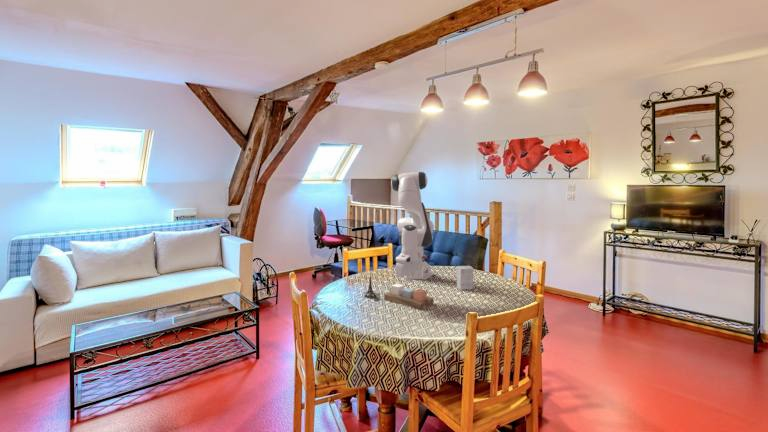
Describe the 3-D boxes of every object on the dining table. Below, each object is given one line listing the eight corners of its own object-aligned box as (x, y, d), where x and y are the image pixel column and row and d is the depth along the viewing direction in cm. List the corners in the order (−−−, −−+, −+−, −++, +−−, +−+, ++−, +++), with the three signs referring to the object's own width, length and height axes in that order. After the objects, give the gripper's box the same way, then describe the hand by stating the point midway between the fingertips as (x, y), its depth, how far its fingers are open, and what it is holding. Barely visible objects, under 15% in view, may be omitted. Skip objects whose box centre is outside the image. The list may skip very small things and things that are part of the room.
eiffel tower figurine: (380, 302, 216) (380, 278, 214) (361, 302, 216) (361, 278, 214) (380, 293, 231) (380, 270, 229) (362, 293, 231) (362, 270, 229)
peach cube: (418, 297, 214) (419, 288, 213) (426, 300, 211) (426, 290, 210) (413, 300, 210) (413, 291, 209) (421, 302, 207) (421, 293, 206)
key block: (397, 294, 228) (397, 289, 227) (433, 303, 212) (433, 298, 212) (384, 299, 219) (384, 294, 218) (420, 309, 203) (420, 304, 203)
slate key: (407, 296, 219) (407, 288, 218) (415, 298, 216) (415, 289, 215) (402, 299, 215) (402, 290, 214) (409, 301, 212) (409, 292, 211)
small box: (469, 286, 243) (469, 265, 241) (473, 289, 237) (473, 268, 235) (456, 286, 242) (456, 265, 240) (460, 290, 236) (460, 268, 234)
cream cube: (396, 292, 223) (396, 283, 223) (404, 294, 220) (404, 285, 220) (391, 294, 220) (391, 285, 219) (398, 296, 216) (398, 287, 216)
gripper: (416, 251, 222) (416, 275, 224) (393, 258, 207) (393, 284, 209) (425, 252, 218) (425, 277, 220) (403, 260, 203) (403, 287, 205)
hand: (409, 280), depth 214 cm, fingers closed
